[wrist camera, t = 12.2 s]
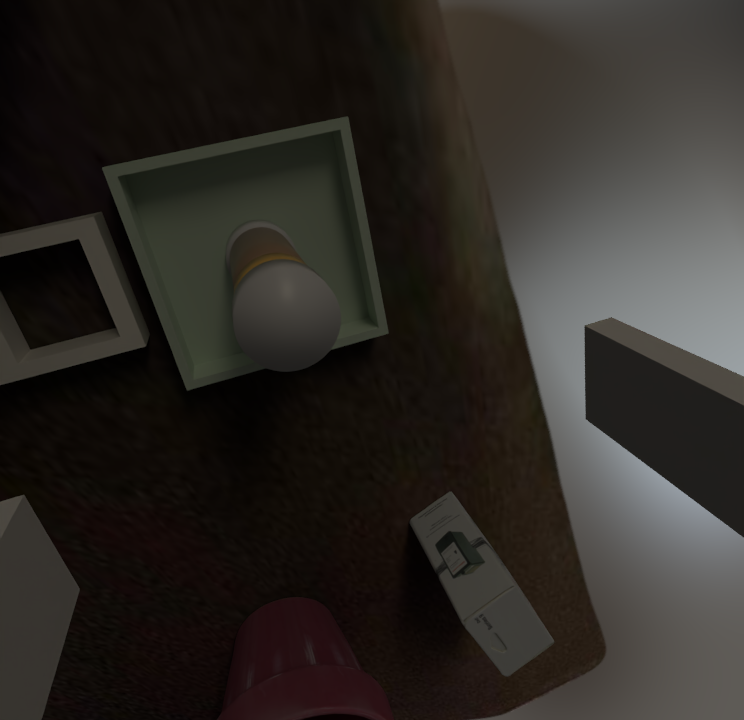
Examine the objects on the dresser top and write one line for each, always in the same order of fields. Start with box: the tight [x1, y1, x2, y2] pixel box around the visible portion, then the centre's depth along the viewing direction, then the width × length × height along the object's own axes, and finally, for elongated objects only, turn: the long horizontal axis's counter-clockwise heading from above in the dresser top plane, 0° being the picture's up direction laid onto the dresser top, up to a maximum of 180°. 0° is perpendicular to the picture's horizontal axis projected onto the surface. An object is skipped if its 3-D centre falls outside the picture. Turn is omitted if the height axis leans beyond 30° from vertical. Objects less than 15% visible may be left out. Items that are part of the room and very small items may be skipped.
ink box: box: [409, 492, 554, 676], centre depth 45 cm, size 9×5×12 cm, turn 32°
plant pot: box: [217, 597, 394, 720], centre depth 43 cm, size 14×14×13 cm
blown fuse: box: [226, 220, 341, 372], centre depth 28 cm, size 4×4×15 cm
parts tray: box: [102, 117, 388, 390], centre depth 34 cm, size 14×14×3 cm
